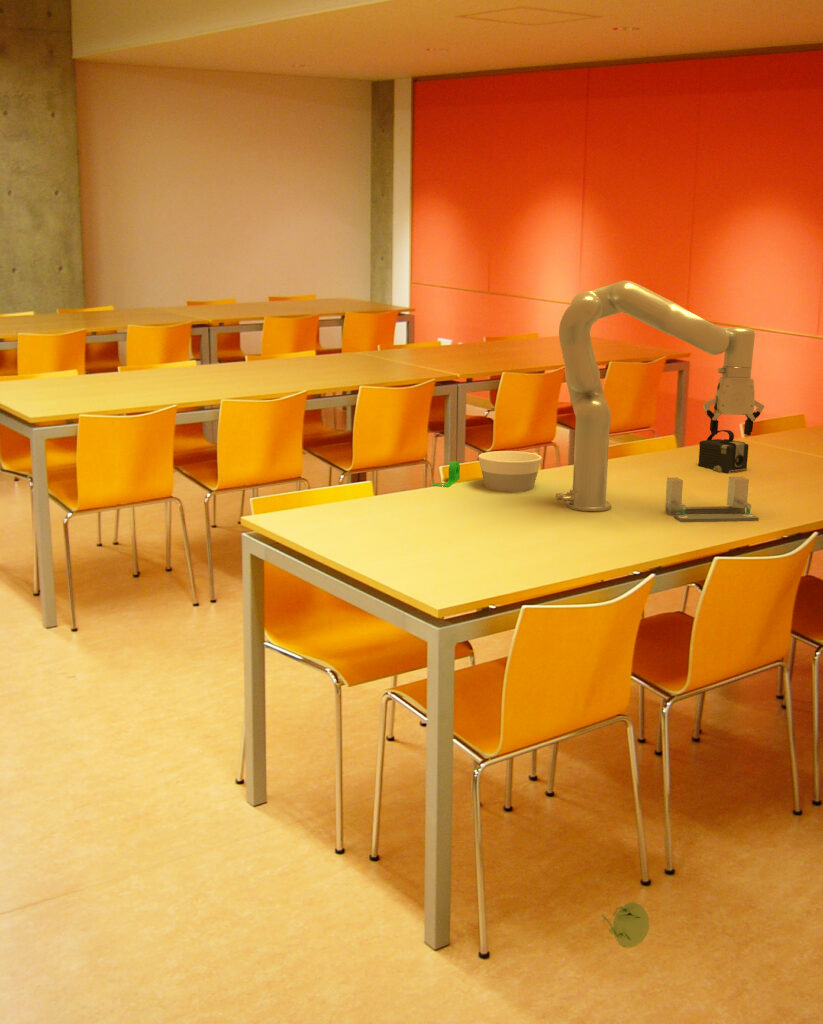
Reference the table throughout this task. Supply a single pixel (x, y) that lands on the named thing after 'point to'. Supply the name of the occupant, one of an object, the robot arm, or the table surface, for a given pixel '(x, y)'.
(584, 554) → the table surface
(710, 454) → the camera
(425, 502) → the table surface
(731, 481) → the sliding leg
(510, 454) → the bowl
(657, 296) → the robot arm
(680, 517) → the gauge plate
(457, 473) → the mechanical part
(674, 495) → the rail with fixed leg
